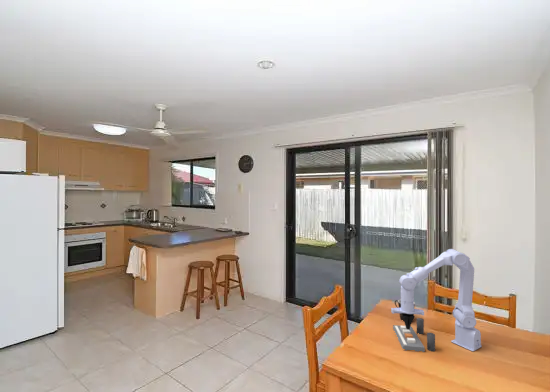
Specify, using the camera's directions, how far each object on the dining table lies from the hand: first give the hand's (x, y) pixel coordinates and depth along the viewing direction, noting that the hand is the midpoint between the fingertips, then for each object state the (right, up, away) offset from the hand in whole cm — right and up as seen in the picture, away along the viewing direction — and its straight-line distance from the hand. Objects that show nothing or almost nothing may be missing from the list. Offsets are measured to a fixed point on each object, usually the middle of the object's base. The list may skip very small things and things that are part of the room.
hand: (407, 328), depth 135 cm
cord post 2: (+6, -5, -9) cm, 12 cm away
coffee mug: (+9, -5, +22) cm, 25 cm away
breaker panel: (0, -5, 0) cm, 5 cm away
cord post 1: (+9, -5, +6) cm, 12 cm away
